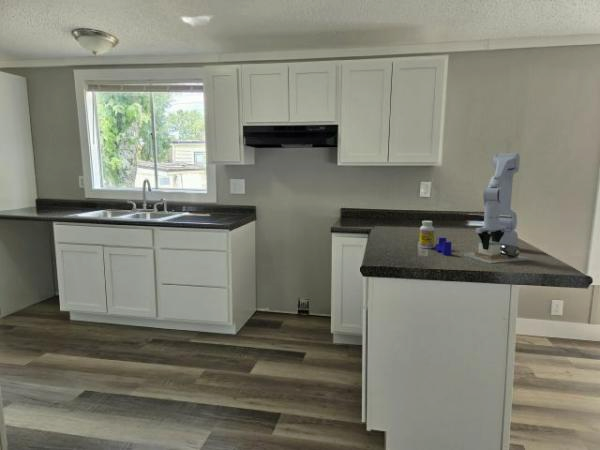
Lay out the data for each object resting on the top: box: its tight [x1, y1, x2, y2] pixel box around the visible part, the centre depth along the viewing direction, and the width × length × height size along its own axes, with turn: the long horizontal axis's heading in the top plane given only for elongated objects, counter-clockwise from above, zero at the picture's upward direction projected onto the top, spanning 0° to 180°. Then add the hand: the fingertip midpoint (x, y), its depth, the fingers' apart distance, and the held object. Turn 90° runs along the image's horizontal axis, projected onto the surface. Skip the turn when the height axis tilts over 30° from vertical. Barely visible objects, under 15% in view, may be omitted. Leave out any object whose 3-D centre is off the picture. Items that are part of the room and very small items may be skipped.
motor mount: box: [463, 243, 528, 264], centre depth 169 cm, size 18×16×5 cm
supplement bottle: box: [418, 220, 435, 249], centre depth 192 cm, size 7×7×13 cm
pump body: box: [477, 240, 500, 255], centre depth 168 cm, size 4×7×5 cm, turn 21°
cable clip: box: [434, 237, 452, 256], centre depth 181 cm, size 12×4×6 cm, turn 172°
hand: (490, 248), depth 168 cm, fingers closed on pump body, 4 cm apart
